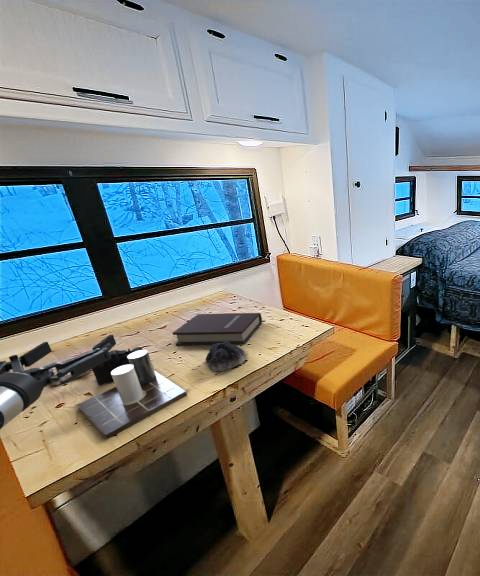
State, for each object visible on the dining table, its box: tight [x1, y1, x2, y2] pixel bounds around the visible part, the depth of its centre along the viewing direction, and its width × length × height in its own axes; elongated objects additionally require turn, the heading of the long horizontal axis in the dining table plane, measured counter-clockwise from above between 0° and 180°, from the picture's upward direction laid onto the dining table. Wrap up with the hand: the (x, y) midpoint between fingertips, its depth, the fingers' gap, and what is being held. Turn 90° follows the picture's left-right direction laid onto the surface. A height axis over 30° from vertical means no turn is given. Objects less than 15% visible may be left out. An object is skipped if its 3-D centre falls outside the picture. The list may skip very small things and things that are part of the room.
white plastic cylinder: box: [111, 365, 143, 403], centre depth 90 cm, size 5×5×10 cm
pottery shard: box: [50, 370, 90, 386], centre depth 106 cm, size 11×4×10 cm
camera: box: [91, 346, 144, 386], centre depth 105 cm, size 14×11×10 cm
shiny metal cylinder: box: [127, 349, 156, 385], centre depth 98 cm, size 5×5×10 cm
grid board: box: [76, 369, 188, 440], centre depth 92 cm, size 22×20×2 cm
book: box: [172, 312, 263, 347], centre depth 132 cm, size 28×20×6 cm
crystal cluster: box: [205, 341, 246, 372], centre depth 110 cm, size 13×14×10 cm
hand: (81, 342), depth 75 cm, fingers open, 13 cm apart
